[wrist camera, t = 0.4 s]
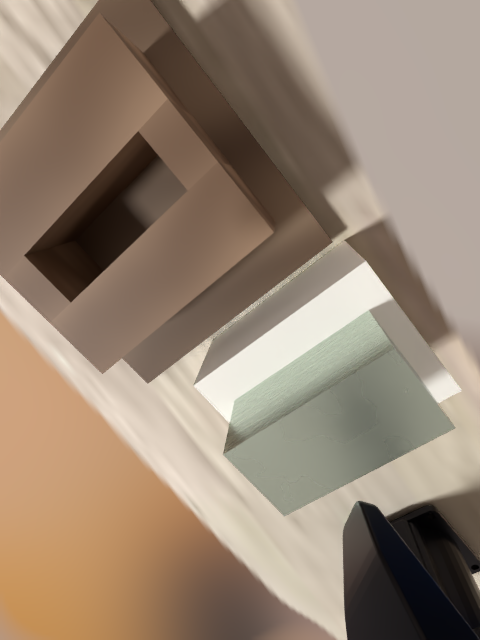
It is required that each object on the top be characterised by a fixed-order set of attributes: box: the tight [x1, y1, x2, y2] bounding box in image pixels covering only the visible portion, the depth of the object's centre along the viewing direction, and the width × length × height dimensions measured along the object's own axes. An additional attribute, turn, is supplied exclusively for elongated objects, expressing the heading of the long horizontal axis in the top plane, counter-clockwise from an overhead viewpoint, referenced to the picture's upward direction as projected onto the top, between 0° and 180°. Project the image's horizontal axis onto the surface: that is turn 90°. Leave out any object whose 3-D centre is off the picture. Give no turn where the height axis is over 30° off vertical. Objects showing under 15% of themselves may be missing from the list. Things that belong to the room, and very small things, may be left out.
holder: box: [193, 240, 462, 423], centre depth 18 cm, size 7×9×5 cm
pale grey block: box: [223, 310, 455, 516], centre depth 16 cm, size 4×7×7 cm, turn 130°
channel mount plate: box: [0, 0, 332, 383], centre depth 17 cm, size 14×13×5 cm
